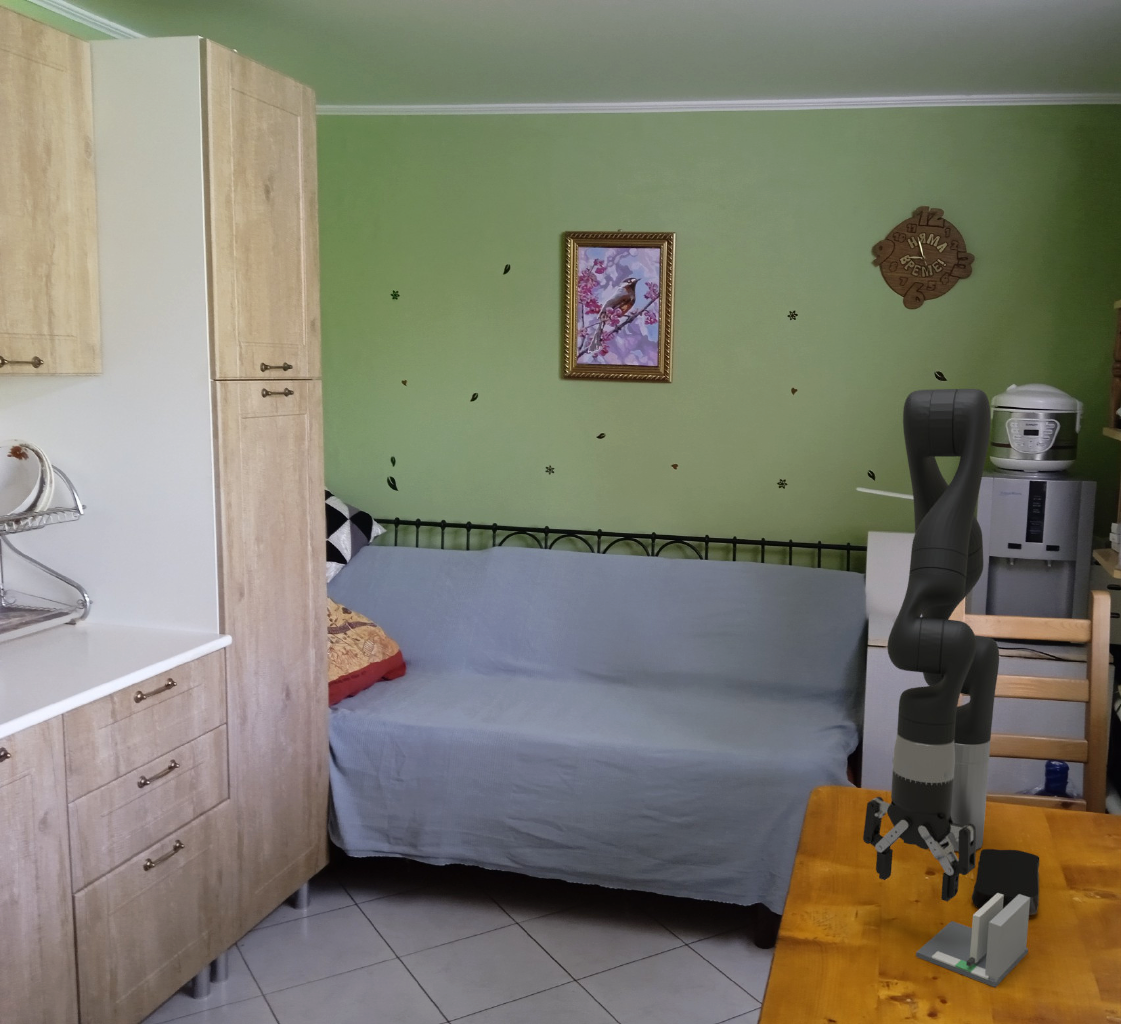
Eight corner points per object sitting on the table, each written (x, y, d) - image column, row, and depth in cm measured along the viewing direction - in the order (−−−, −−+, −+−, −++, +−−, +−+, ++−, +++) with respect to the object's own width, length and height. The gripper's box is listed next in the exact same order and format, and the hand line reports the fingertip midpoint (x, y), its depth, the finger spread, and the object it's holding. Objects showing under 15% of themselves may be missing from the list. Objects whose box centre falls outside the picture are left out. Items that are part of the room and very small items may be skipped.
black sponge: (1037, 926, 148) (1039, 900, 148) (970, 912, 152) (972, 886, 151) (1038, 876, 163) (1040, 852, 162) (977, 864, 166) (979, 841, 166)
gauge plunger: (994, 936, 142) (997, 892, 141) (1000, 938, 141) (1003, 894, 141) (965, 964, 135) (968, 918, 134) (971, 967, 134) (975, 921, 134)
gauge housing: (951, 924, 147) (955, 871, 146) (1027, 952, 141) (1032, 896, 140) (915, 956, 139) (919, 899, 138) (995, 987, 133) (1000, 927, 132)
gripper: (989, 776, 140) (980, 896, 142) (884, 748, 150) (877, 861, 152) (966, 792, 135) (956, 917, 137) (858, 762, 144) (851, 879, 146)
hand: (915, 887), depth 144 cm, fingers open, 8 cm apart
